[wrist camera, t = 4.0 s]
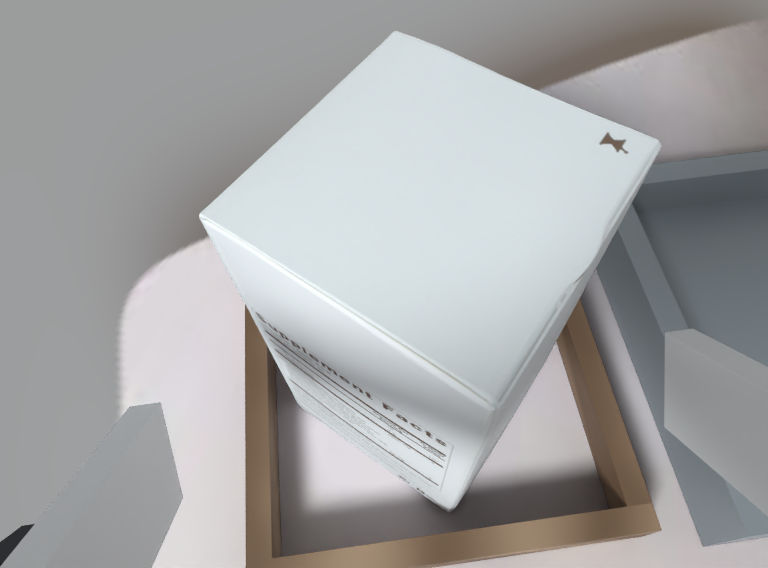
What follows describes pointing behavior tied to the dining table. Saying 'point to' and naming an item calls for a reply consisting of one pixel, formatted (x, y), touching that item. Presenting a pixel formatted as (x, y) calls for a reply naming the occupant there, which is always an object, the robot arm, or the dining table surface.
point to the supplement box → (424, 251)
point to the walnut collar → (418, 555)
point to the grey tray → (695, 299)
